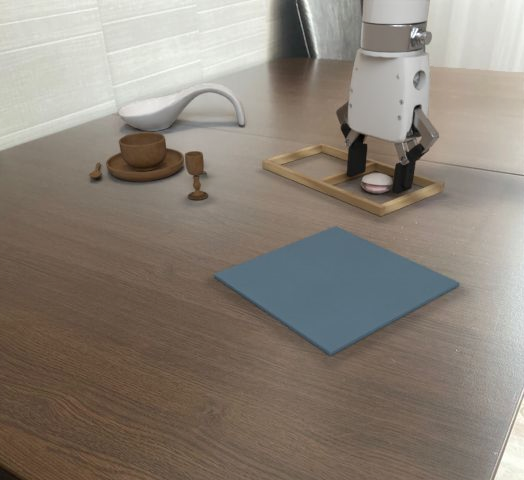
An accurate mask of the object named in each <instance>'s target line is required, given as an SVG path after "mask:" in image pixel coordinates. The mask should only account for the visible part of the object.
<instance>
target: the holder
mask: <svg viewBox="0 0 524 480" xmlns="http://www.w3.org/2000/svg"><path fill="white" fill-rule="evenodd" d="M321 153H324V154H326V155H329V156H331V157H335V158H337V159H340V160H343V161H347V162H348V150H345V149H343V148H340V147H336V146H333V145H329V144H327V143H324V142H321V143H317V144H314V145H311V146H307V147H303V148H300V149H296V150H293V151H290V152H286V153H283V154H280V155H276V156H273V157H270V158H266V159H263V160H261V161H262V169H264V170H267V171H269V172H272V173H274V174H276V175H279V176H281V177H284V178H286V179H288V180H290V181H293V182H296V183H299V184H301V185H303V186H306V187H308V188H311V189H313V190H315V191H318V192H320V193H323V194H325V195H327V196H330V197H333V198H335V199H337V200H339V201H343V202H344V203H347V204H348V205H349V204H350V205H352V206H354V207H357V208H359V209H361V210H363V211H366V212H368V213H370V214H371V213H372V214H374V215H376V216H379V217H383V216H386V215H388V214H390V213H392V212H395V211H397V210H399V209H403V208H405V207H407V206H409V205H412V204H416V203H417V202H419V201H422V200H425V199H427V198H429V197H432V196H435V195H438V194H439V193H442V192H444V187H445V182H443V181H440V180H437V179H434V178H431V177H428V176H424V175H421V174H418V173H415V172H414V178H413V183H412V185H415V186H419V187H422V188H420V189H416V190H415V191H414V190H413V191H412V192H409V193H407V194H404V195H402V196H399V197H396V198H394V199H391V200H388V201H386V202H383V203H379V202H376V201H374V200H370V199H368V198H365V197H363V196H361V195H358V194H356V193H353V192H350V191H348V190H346V189H343V188H340V187H338V186H335V185H338V184H341V183H344V182H347V181H349V180H352V179H355V178H358V177H361V176H365V175H368V174H371V173H374V172H377V173H382V174H386V175H388V176H389V177H393V178H394V172H395V165H391V164H388V163H385V162H382V161H378V160H376V159H374V158H373V159H372V158H370V157H367V158H366V170H365V172H364V173H361V174H358V175H356V176H353V177H349V176H347V169H345V170H343V171H339V172H337V173H334V174H330V175H327V176H325V177H322V178H319V179H317V178H315V177H312V176H310V175H307V174H305V173H302V172H300V171H298V170H297V171H296V170H295V169H292V168H289V167H287V166H284V165H285V164H287V163H291V162H295V161H297V160H301V159H305V158H307V157H310V156H314V155H318V154H321Z"/></svg>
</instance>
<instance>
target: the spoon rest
mask: <svg viewBox="0 0 524 480" xmlns="http://www.w3.org/2000/svg"><path fill="white" fill-rule="evenodd" d="M207 93H211V94H212V93H213V94H217V95H220V96H222V97H224V98H226V99H227V101H229V102H230V103H231V105H232V106H233V108H234V110H235V113H236V117H237V119H236V120H237V123H238V125H239V126H244V125H245V123H246V114H245V113H246V112H245V109H244V105H243V102H242V100H241V99H240V97H239V96H238V94H237V93H236V92H235V91H234V90H232V89H231V88H229V87H227V86H226V85H223V84H219V83H215V82H202V83H197V84H195V85H192V86H189V87H187V88H185V89H183V90H180V91H178V92H174V93H171V94H167V95H163V96H157V97H152V98H147V99H141V100H137V101H134V102H133V101H132V102H130V103H128V104H126V105H124V106H122V107H120V108H119V110H118V111H117V114H118V117H120V119H121V120H122V121H123V122H124V123H126V124H127V125H129V126H131V127H132V128H135V129H138V130H139V131H143V132H155V131H163V130H166V129H169V128H170V127H171V126H172V124H174V122H175V121H176V120H177V119H178V118H179V116H180V115H181V114H182V113H183V111H184V110H185V109H186V107H187V106H188V105H190V103H191V102H192V101H193V100H194V99H195V98H197V97H198V96H200V95H203V94H207Z"/></svg>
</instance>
